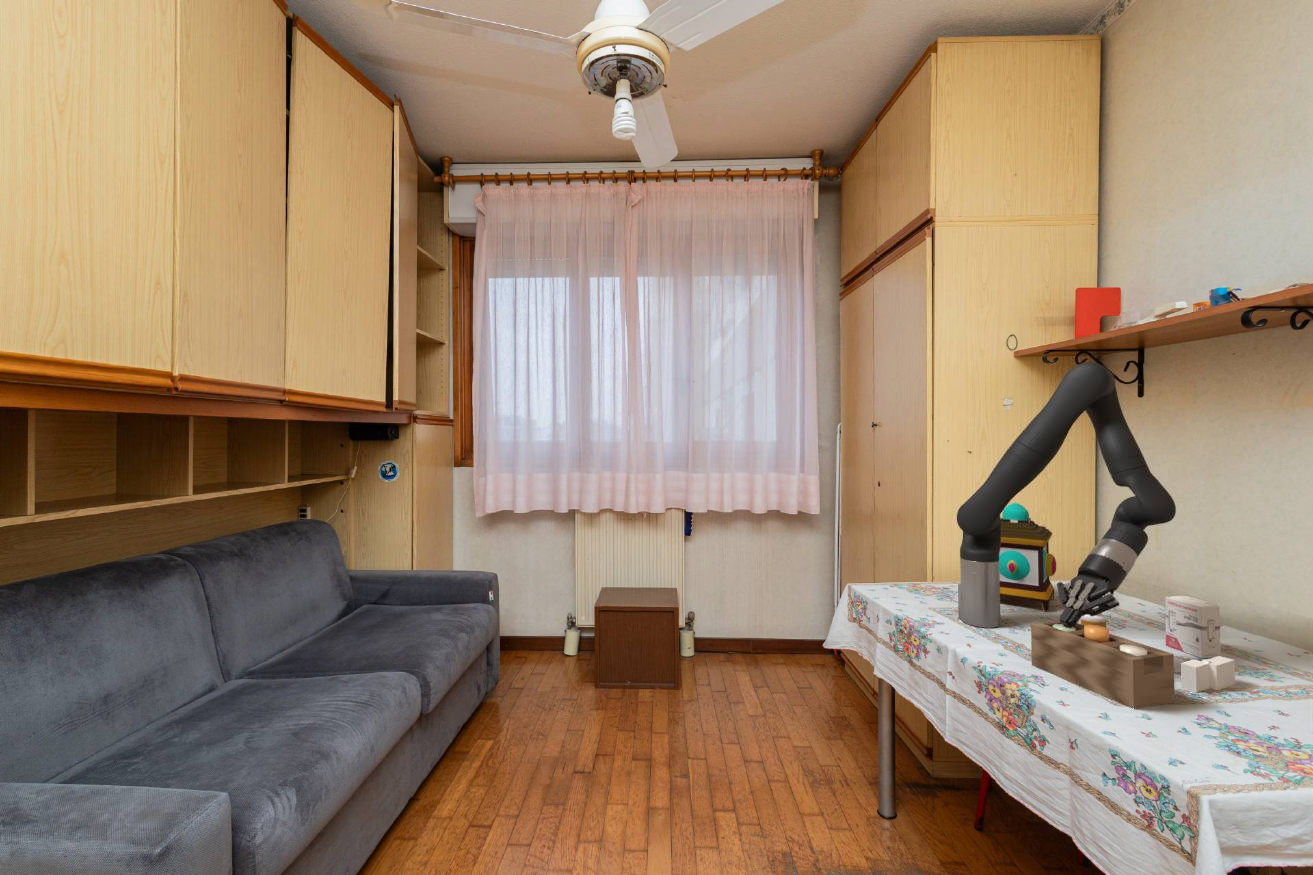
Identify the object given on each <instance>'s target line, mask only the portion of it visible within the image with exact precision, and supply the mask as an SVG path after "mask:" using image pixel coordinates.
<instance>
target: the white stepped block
mask: <svg viewBox="0 0 1313 875" xmlns="http://www.w3.org/2000/svg"><path fill="white" fill-rule="evenodd" d="M1235 668H1236V665H1235V659H1232V658H1228V657H1224V656H1217V657H1214V658H1204V659H1202V660H1197V659H1191V660H1188V661H1185V662H1181V663H1180V676H1181V679H1180V681H1181V682H1180V683H1181V685H1180V686H1181V689H1184V690H1188V691H1190V692H1192V693H1199V691H1200V692H1202V691H1206V690H1208V689H1210V688H1212V689H1211V690H1213V689H1214V691H1220V690H1222V688H1223V689H1225V688H1228V687H1231V686H1234V685H1236V670H1235ZM1207 688H1208V689H1207Z"/></svg>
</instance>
